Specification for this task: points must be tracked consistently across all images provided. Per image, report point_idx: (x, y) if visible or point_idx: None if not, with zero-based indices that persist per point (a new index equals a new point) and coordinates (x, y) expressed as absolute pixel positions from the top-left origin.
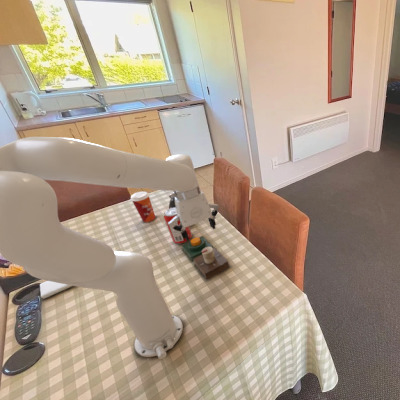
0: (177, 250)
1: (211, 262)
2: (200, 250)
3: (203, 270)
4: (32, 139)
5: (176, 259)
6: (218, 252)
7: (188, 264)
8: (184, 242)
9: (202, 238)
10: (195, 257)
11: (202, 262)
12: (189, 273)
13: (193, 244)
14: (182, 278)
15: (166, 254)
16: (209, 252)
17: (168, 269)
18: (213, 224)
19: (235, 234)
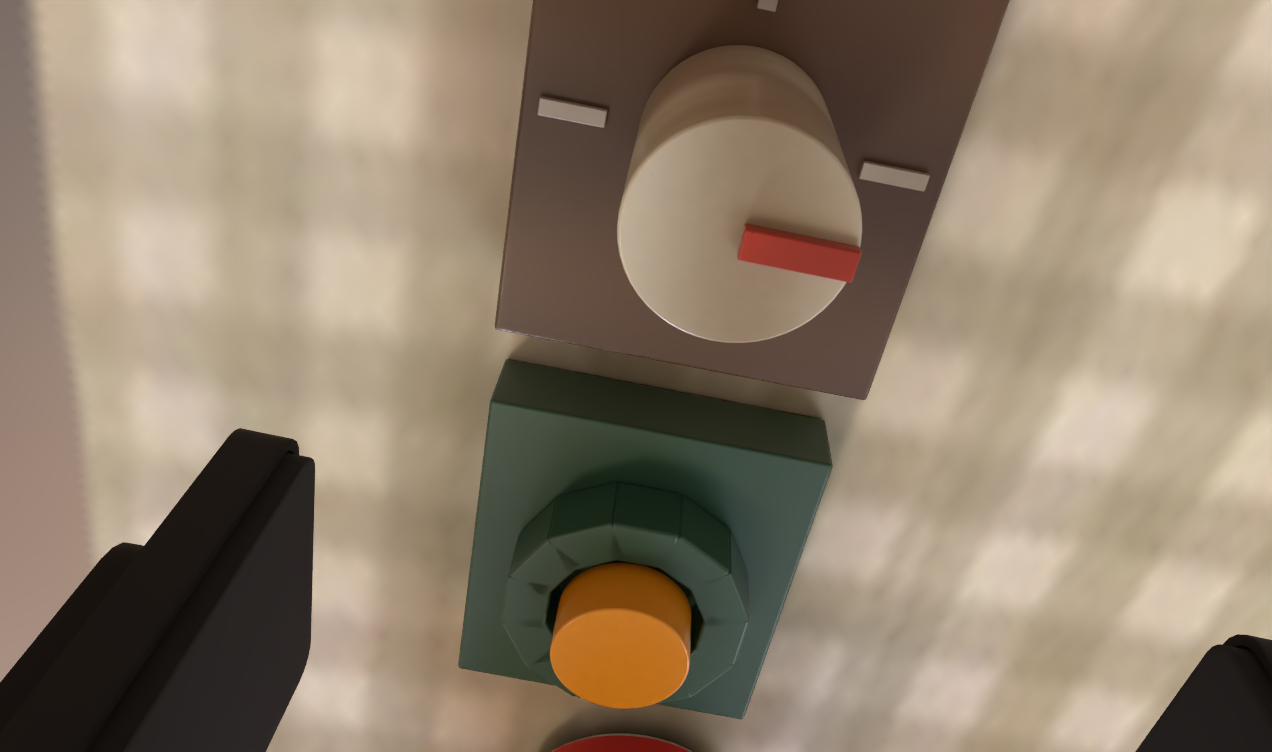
0: (790, 700)
1: (774, 55)
2: (659, 473)
3: (988, 12)
4: None
5: (907, 597)
6: (521, 188)
7: (896, 413)
8: (664, 740)
9: (507, 623)
10: (775, 431)
11: None
12: (1023, 256)
13: (681, 616)
14: (1145, 254)
15: (904, 736)
16: (762, 128)
17: (1086, 535)
18: (172, 581)
19: (87, 380)
